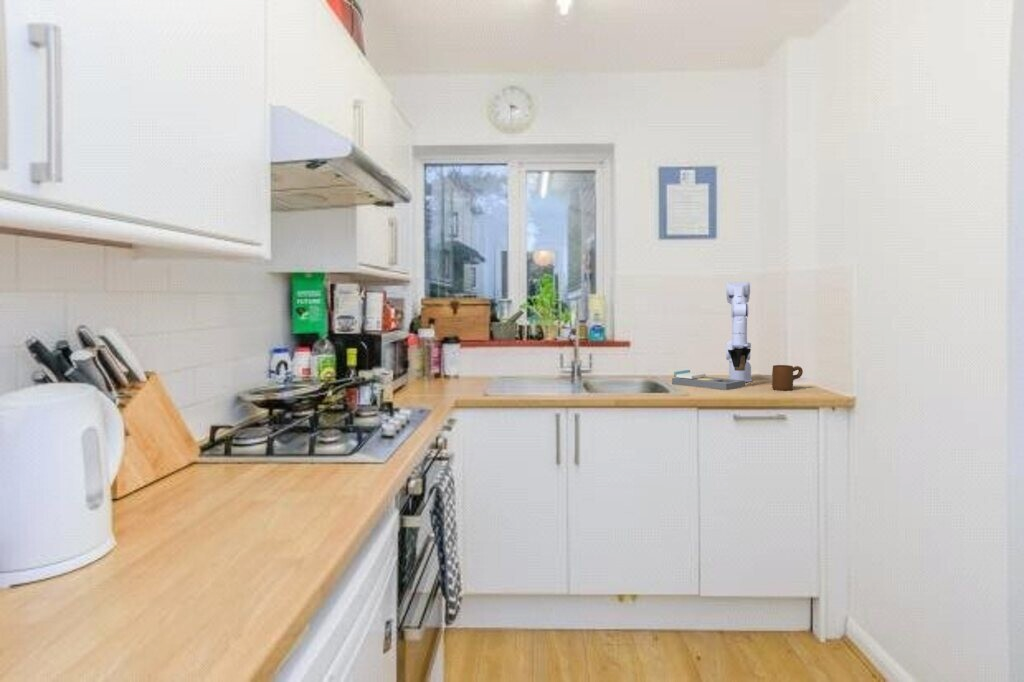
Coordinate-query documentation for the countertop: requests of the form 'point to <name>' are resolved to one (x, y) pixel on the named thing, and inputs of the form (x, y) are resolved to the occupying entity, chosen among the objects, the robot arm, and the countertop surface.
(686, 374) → the lid
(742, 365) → the peg
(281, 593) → the countertop surface
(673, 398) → the countertop surface
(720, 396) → the countertop surface
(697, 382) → the housing
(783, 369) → the mug
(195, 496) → the countertop surface
